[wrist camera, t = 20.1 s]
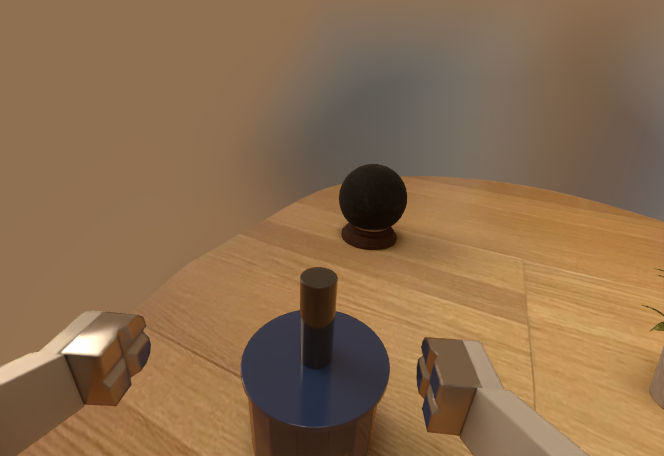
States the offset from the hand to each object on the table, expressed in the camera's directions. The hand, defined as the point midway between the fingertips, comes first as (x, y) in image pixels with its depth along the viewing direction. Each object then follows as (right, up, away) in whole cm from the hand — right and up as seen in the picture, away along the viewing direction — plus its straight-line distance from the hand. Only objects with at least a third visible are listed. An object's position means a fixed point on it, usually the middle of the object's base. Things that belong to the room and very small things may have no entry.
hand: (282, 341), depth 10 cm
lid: (0, -7, +17) cm, 18 cm away
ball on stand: (+9, +1, +58) cm, 59 cm away
